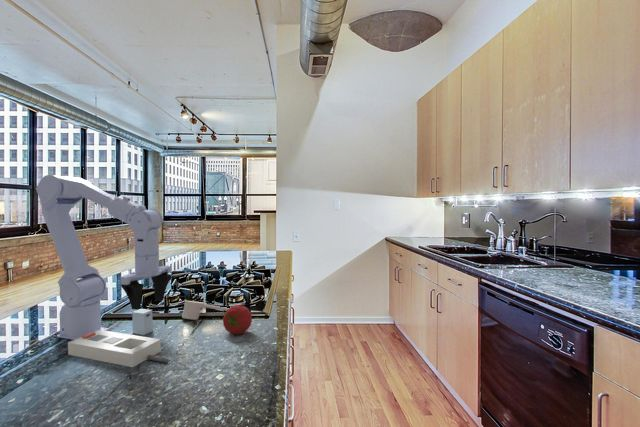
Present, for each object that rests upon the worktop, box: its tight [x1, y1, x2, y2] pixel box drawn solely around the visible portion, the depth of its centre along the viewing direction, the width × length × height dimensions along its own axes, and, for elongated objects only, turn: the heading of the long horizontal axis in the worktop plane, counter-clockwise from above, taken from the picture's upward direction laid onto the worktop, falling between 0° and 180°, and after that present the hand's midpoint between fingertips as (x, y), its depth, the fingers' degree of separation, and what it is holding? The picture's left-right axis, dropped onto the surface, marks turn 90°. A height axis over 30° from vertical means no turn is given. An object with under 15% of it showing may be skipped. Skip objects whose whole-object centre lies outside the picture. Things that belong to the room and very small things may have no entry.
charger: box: [131, 308, 154, 336], centre depth 91 cm, size 4×3×6 cm
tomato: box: [222, 304, 253, 336], centre depth 90 cm, size 8×8×8 cm
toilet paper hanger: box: [181, 300, 229, 320], centre depth 106 cm, size 20×5×16 cm
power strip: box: [67, 330, 170, 368], centre depth 78 cm, size 26×8×4 cm, turn 72°
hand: (148, 304), depth 88 cm, fingers open, 7 cm apart
